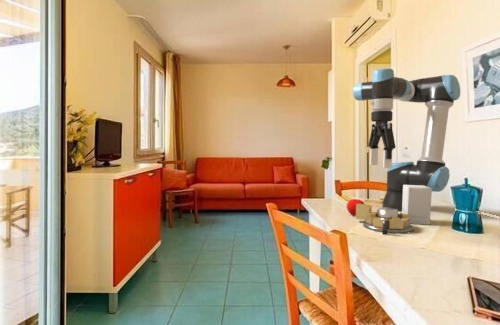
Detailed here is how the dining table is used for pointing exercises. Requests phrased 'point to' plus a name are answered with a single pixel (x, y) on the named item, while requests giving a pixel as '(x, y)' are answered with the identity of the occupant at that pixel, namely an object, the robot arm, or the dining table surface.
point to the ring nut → (372, 218)
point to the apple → (353, 206)
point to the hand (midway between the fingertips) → (380, 166)
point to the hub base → (387, 214)
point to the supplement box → (417, 203)
